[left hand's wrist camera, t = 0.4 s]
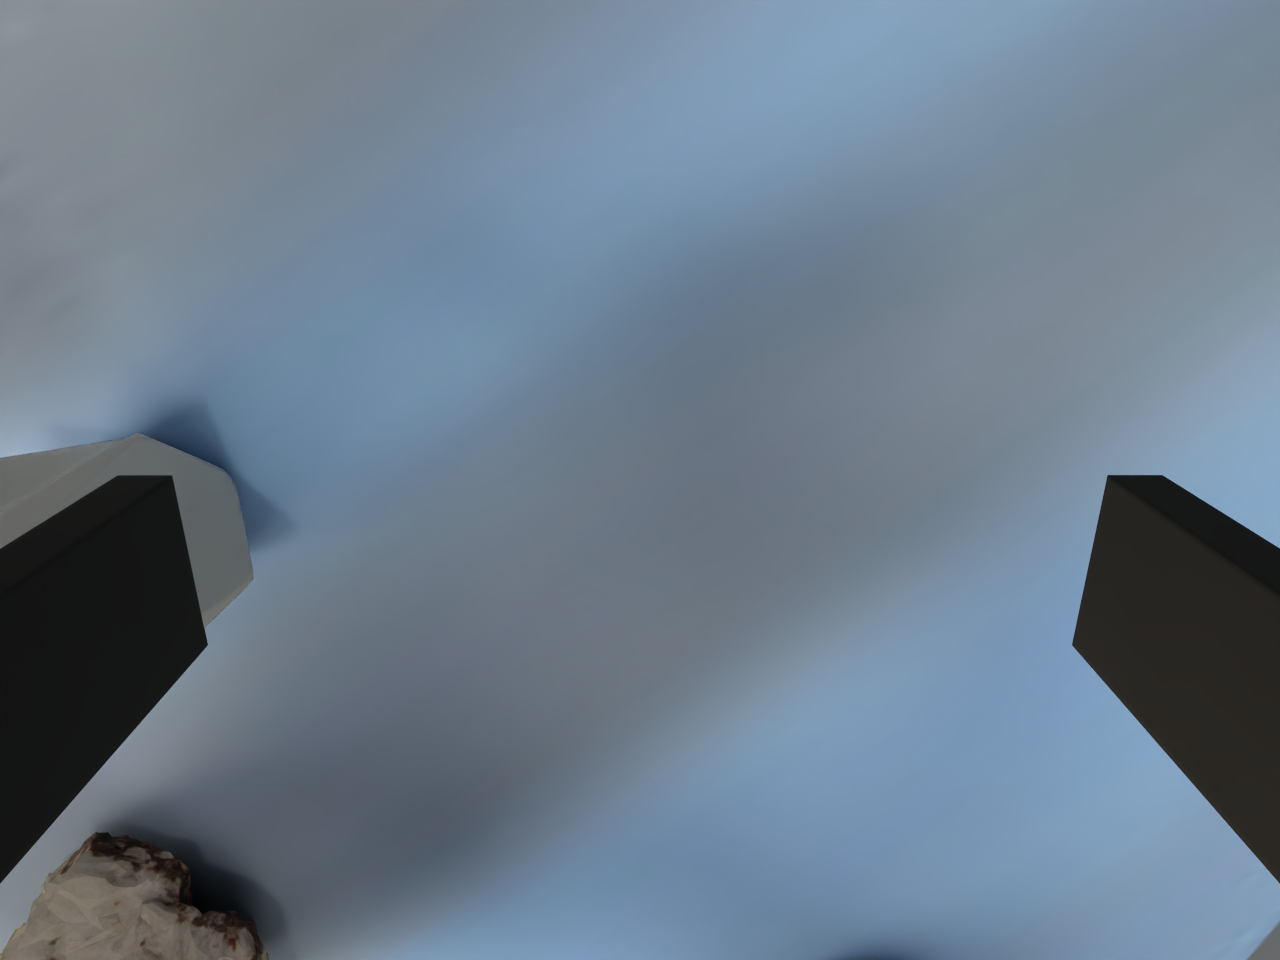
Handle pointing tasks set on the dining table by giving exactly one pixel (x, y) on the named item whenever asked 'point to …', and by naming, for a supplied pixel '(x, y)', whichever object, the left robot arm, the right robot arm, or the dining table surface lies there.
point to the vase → (207, 496)
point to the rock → (127, 911)
